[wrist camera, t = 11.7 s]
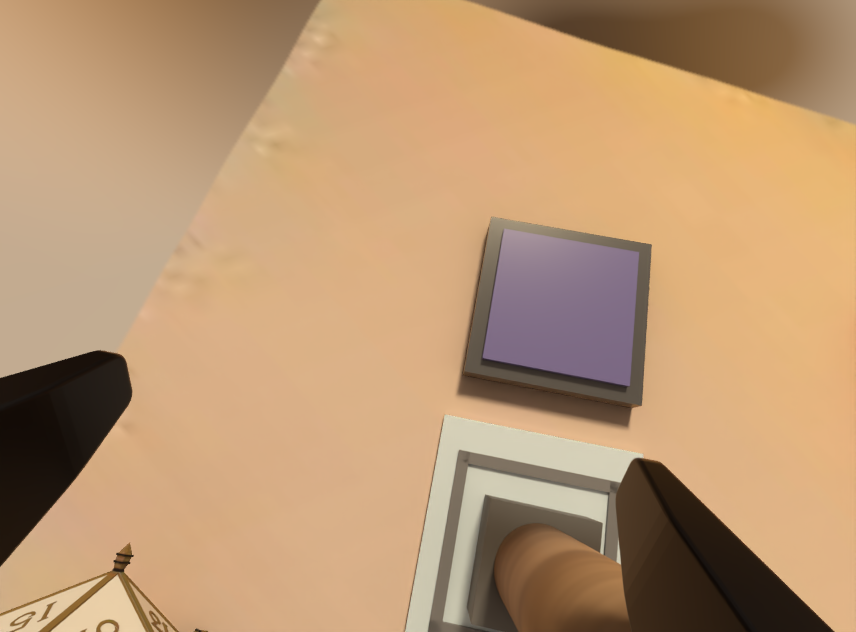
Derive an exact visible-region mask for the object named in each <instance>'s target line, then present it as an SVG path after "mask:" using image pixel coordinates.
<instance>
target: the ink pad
mask: <svg viewBox="0 0 856 632" xmlns="http://www.w3.org/2000/svg"><path fill="white" fill-rule="evenodd" d="M651 247H652V245H651V244H646V243H640V242H634V241H628V240H623V239H617V238H611V237H605V236H600V235H594V234H588V233H582V232H577V231H571V230H565V229H559V228H554V227H548V226H542V225H536V224H531V223H525V222H519V221H513V220H508V219H502V218H496V217H491V220H490V224H489V228H488V234H487V240H486V245H485V251H484V257H483V262H482V268H481V274H480V279H479V285H478V291H477V296H476V302H475V308H474V314H473V319H472V325H471V331H470V336H469V342H468V348H467V353H466V359H465V365H464V370H463V375H465V376H471V377H476V378H481V379H486V380H491V381H496V382H502V383H507V384H512V385H517V386H522V387H527V388H532V389H538V390H543V391H548V392H553V393H558V394H563V395H568V396H574V397H579V398H584V399H589V400H594V401H599V402H604V403H610V404H615V405H620V406H625V407H630V408H634V407H638V406H642V394H643V378H644V361H645V345H646V329H647V312H648V296H649V280H650V263H651Z"/></svg>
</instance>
